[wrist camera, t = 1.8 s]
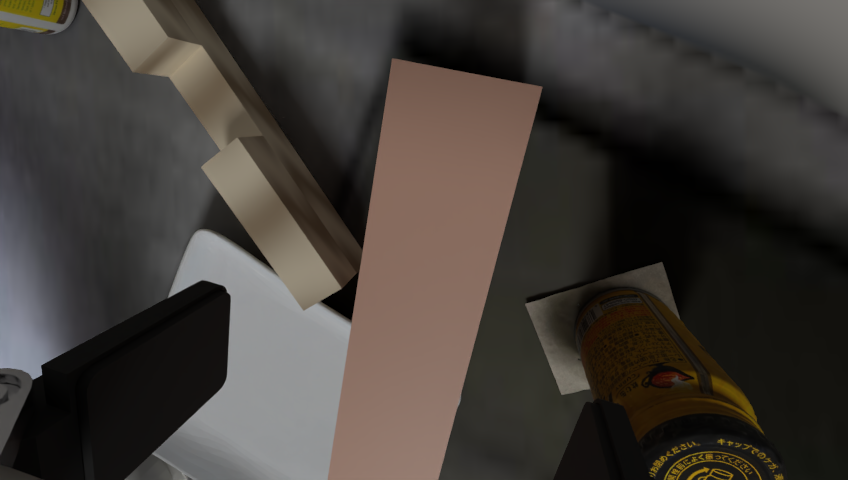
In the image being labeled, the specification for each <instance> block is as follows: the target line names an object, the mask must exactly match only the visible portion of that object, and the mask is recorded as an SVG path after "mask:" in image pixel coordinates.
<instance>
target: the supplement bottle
mask: <svg viewBox="0 0 848 480" xmlns="http://www.w3.org/2000/svg"><path fill="white" fill-rule="evenodd" d="M77 8H78V0H0V26H1V27H6V28H11V29H17V30H22V31H28V32H33V33H40V34H56V33H59V32H62V31H63V30H65V29H66V28H67V27H68V26H69V25H70V24H71V23H72V21H73V20H74V18H75V15H76V12H77Z"/></svg>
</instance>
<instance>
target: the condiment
mask: <svg viewBox="0 0 848 480" xmlns="http://www.w3.org/2000/svg"><path fill="white" fill-rule="evenodd" d="M577 304H579V305H580V306H577ZM525 305H526V307H527V310H528V312H529V314H530V317H531V319H532V322H533V324H534V327H535V329H536V332H537V334H538V337H539V339H540V341H541V344H542V347H543V349H544V352H545V354H546V356H547V359H548V362H549V364H550V367H551V369H552V372H553V374H554V377H555V379H556V382H557V385H558V387H559V390H560V392H561V395H564V394H568V393H574V392H578V391H581V390H585V389H590V390H591V392H592V395H593V399H594V400H595V399H597V398H599V399H603V400H606V401H609V402H613V403H616V404H619V405H622V406H624V408H625V410H626V413H627V415H628V418H629V421H630V423H631V426H632V429H633V431H634V434H635V436H636V439H637V442H638V444H639V447H640V450H641V452H642V455H643V457H644V460H645V463H646V465H647V468H648V471H649V473H650V476H651V477H653V478H654V479H655V480H787V472H786V466H785V464H784V460H783V458H782V456H781V454H780V452H779V451H778V450H777V449H776V448H775V446H774V444H773V443H771V442H770V441H769V439H768V438H767V437H766V436H765V435H764V433H763V431H762V430H761V428H760V426H759V425H758V423H757V417H756V416H755V414H754V411H753V408H752V406H751V405H750V403H749V401H748V399H747V398H746V396H745V395H744V393H743V392H742V391H741V389H740V388H739V387H738V386H737V385H736V384H735V382H734V381H733V380H732V379H731V378H730V377H729V376H728V375H727V374H726V372H725V371H724V370H723V369H722V368H721V367H720V366H719V365H718V364H717V363H716V361H715V360H714V359H713V358H712V357H711V356H710V355H709V354H708V353H707V351H706V350H705V348H704V347H703V346H702V345H701V344H700V343H699V341H698V340H697V339H696V338H695V337H694V336H693V335H692V334H691V332H690V331H688V329H687V328H686V327H685V325H684V323H683V322H682V321H681V320H680V318H679V314H678V311H677V308H676V305H675V302H674V298H673V295H672V292H671V288H670V285H669V282H668V278H667V275H666V272H665V269H664V266H663V263H662V262H660V263H657V264H653V265H650V266H646V267H643V268H639V269H636V270H632V271H629V272H626V273H624V274H619V275H615V276H612V277H609V278H606V279H604V280H599V281H596V282H594V283H591V284H587V285H584V286H582V287H579V288H576V289H572V290H568V291H565V292H562V293H558V294H554V295H552V296H549V297H546V298H543V299H541V300H537V301H533V302H530V303H527V304H525ZM577 358H580V359H581V361H578V359H577Z"/></svg>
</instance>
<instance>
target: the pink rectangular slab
mask: <svg viewBox="0 0 848 480" xmlns="http://www.w3.org/2000/svg"><path fill="white" fill-rule="evenodd" d="M541 90H542V87H540V86H535V85H530V84H524V83H519V82H514V81H509V80H503V79H498V78H493V77H488V76H482V75H477V74H472V73H467V72H461V71H456V70H451V69H446V68H440V67H435V66H430V65H424V64H419V63H414V62H409V61H403V60H398V59H393V58H392V63H391V70H390V76H389V83H388V89H387V96H386V103H385V109H384V116H383V122H382V129H381V135H380V142H379V148H378V155H377V161H376V168H375V174H374V181H373V187H372V194H371V200H370V207H369V213H368V220H367V226H366V233H365V239H364V246H363V252H362V259H361V265H360V272H359V278H358V285H357V291H356V298H355V304H354V311H353V317H352V324H351V330H350V337H349V343H348V350H347V356H346V363H345V369H344V376H343V382H342V389H341V395H340V402H339V408H338V415H337V421H336V428H335V434H334V441H333V447H332V454H331V460H330V467H329V473H328V480H438V478H439V474H440V470H441V467H442V463H443V459H444V455H445V452H446V448H447V444H448V440H449V436H450V433H451V429H452V425H453V421H454V418H455V414H456V410H457V406H458V403H459V399H460V395H461V391H462V388H463V384H464V380H465V376H466V373H467V369H468V365H469V361H470V357H471V354H472V350H473V346H474V342H475V339H476V335H477V331H478V327H479V324H480V320H481V316H482V312H483V309H484V305H485V301H486V297H487V294H488V290H489V286H490V282H491V279H492V275H493V271H494V267H495V263H496V260H497V256H498V252H499V248H500V245H501V241H502V237H503V233H504V230H505V226H506V222H507V218H508V215H509V211H510V207H511V203H512V200H513V196H514V192H515V188H516V184H517V181H518V177H519V173H520V169H521V166H522V162H523V158H524V154H525V151H526V147H527V143H528V139H529V136H530V132H531V128H532V124H533V121H534V117H535V113H536V109H537V106H538V102H539V98H540V94H541Z"/></svg>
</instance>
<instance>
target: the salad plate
mask: <svg viewBox="0 0 848 480" xmlns="http://www.w3.org/2000/svg"><path fill="white" fill-rule="evenodd" d="M201 280H206V281H209V282H212V283H216V284H219V285H222V286H224V287H225V288H226V290H227V293H229V294H230V296H231V307H230V327H229V347H228V367H227V378H226V381H225V383H224V385H223V387H222V388H221V389H220V390H219V391H218V392H217V393H216V394H215V395H214V396H213V397H212V398H211V399H210V400H209V401H208V402H206V403H205V404H204V405H203V406H202V407H201V408H200V409H199V410H198V411H197V412H196V413H195V414H194V415H193V416H192V417H191V418H189V419H188V420H187V421H186V422H185V423H184V424H183V425H182V426H181V427H180V428H179V429H178V430H177V431H176V432H175V433H174V434H172V435H171V436H170V437H169V438H168V439H167V440H166V441H165V442H164V443H163V444H162V445H161V446H160V447H159V448H158V449H157V450H155V451H154V452H153V453H152V454H153V455H155V456H156V457H158V458H160V459H161V460H163V461H164V462H166V463H168V464H169V465H171V466H172V467H174V468H176V469H177V470H179V471H180V472H182V473H183V474H185V475H187V476H188V477H190V478H191V479H193V480H328V473H329V467H330V460H331V454H332V447H333V441H334V434H335V428H336V421H337V415H338V408H339V402H340V395H341V389H342V382H343V376H344V369H345V363H346V356H347V350H348V343H349V337H350V330H351V324H352V321H351V320H350V319H348V318H347V317H345V316H343V315H342V314H340V313H338V312H337V311H335V310H333V309H332V308H330V307H329V306H327V305H325V304H324V303H322V302H321V301H320V302H318V303H316V304H314V305H313V306H311V307H309V308H308V309H306V310H304V311H303V309H302V308H301V307H300V305H299V304H298V302H297V301H296V300H295V298H294V297H293V295H292V294H291V293H290V291H289V290H288V288H287V287H286V286H285V284H284V283H283V281H282V280H281V279H280V277H279V276H278V274H277V273H276V272H275V270H273V269H272V268H270V267H269V266H267V265H266V264H264V263H263V262H262V261H260V260H259V259H257V258H256V257H255V256H253V255H252V254H250V253H249V252H247V251H246V250H245V249H243V248H242V247H240V246H239V245H238V244H236V243H234V242H233V241H231V240H230V239H228V238H227V237H225V236H223V235H221V234H219V233H218V232H215V231H213V230H210V229H199V230H197V231H196V232H195V233H194V234H193V236H192V237H191V239H190V242H189V244H188V246H187V248H186V250H185V253H184V255H183V258H182V261H181V263H180V265H179V268H178V271H177V273H176V276H175V279H174V282H173V284H172V287H171V290H170V292H169V295H168V298H169V297H171V296H172V295H174V294H176V293H178V292H180V291H182V290H184V289H186V288H187V287H189V286H191V285H193V284H195V283H197V282H199V281H201ZM460 401H461V395H460V399H459V403H458V405H459V404H460ZM457 407H458V406H457Z"/></svg>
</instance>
